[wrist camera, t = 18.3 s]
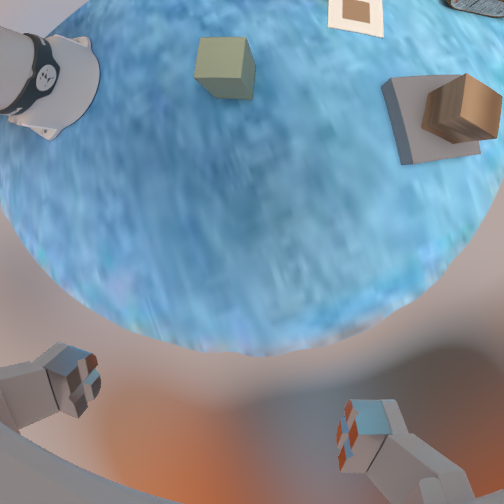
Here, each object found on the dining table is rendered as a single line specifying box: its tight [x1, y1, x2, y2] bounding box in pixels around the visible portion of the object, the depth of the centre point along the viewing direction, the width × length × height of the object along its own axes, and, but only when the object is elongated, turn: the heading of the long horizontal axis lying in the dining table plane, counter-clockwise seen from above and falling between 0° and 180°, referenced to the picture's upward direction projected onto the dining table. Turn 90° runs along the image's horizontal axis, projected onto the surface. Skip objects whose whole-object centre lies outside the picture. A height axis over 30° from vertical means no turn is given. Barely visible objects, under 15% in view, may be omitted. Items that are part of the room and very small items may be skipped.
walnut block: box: [421, 73, 502, 144], centre depth 26 cm, size 5×5×10 cm
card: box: [328, 0, 384, 38], centre depth 32 cm, size 8×8×1 cm
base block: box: [381, 75, 481, 165], centre depth 33 cm, size 11×11×5 cm
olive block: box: [194, 37, 256, 100], centre depth 33 cm, size 5×5×10 cm
